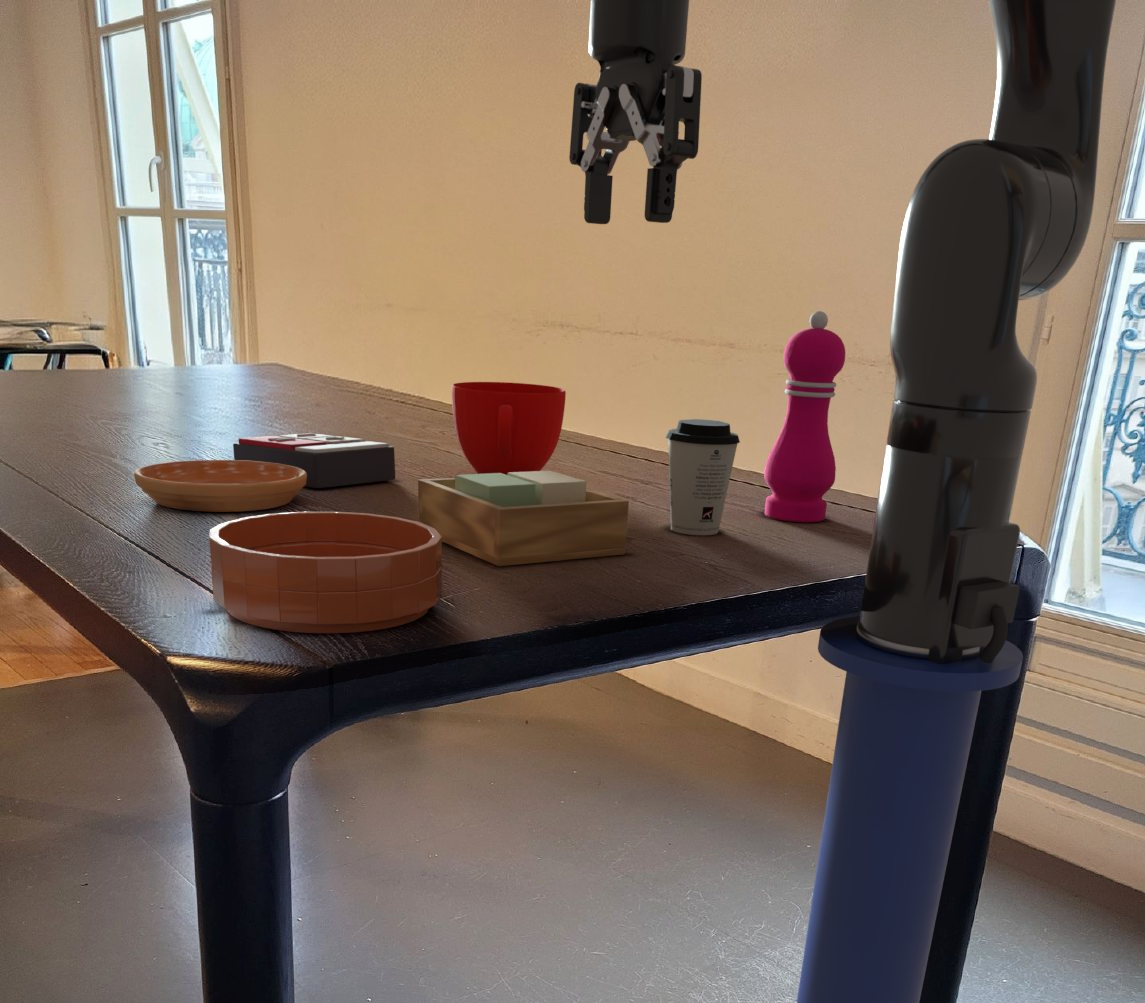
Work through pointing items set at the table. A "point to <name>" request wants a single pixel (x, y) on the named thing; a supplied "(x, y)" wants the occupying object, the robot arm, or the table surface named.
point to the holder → (524, 525)
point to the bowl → (325, 570)
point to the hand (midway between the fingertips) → (626, 222)
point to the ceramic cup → (507, 424)
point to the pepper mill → (805, 426)
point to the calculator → (323, 457)
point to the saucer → (221, 484)
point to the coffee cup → (699, 474)
